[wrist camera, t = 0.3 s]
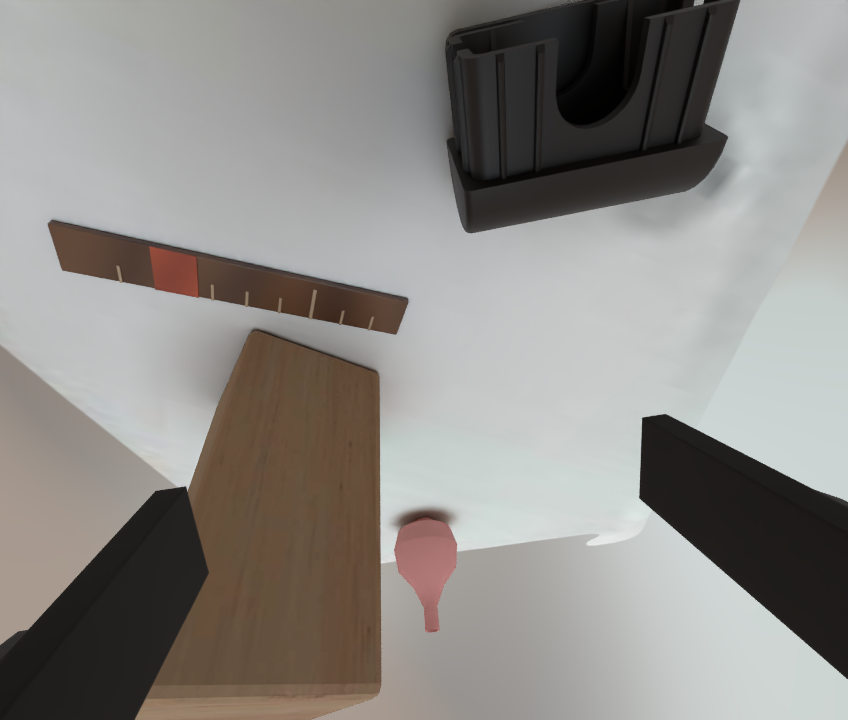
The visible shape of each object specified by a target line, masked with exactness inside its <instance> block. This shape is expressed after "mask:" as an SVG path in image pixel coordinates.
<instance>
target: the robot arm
mask: <svg viewBox="0 0 848 720" xmlns="http://www.w3.org/2000/svg"><path fill="white" fill-rule="evenodd" d="M639 498H640V499H641V500H642V501H643V502H644V503H645V504H646V505H648V506H649V507H650V508H651V509H652V510H653V511H655V512H656V513H657V514H658V515H659V516H660V517H661V518H663V519H664V520H665V521H666V522H667V523H668V524H670V525H671V526H672V527H673V528H674V529H675V530H676V531H678V532H679V533H680V534H681V535H682V536H683V537H685V538H686V539H687V540H688V541H689V542H690V543H691V544H693V545H694V546H695V547H696V548H697V549H698V550H700V551H701V552H702V553H703V554H704V555H705V556H706V557H708V558H709V559H710V560H711V561H712V562H713V563H714V564H716V565H717V566H718V567H719V568H720V569H722V571H724V572H725V573H726V574H727V575H728V576H729V577H731V578H732V579H733V580H734V581H735V582H736V583H737V584H739V585H740V586H741V587H742V588H743V589H744V590H746V591H747V592H748V593H749V594H750V595H751V596H752V597H754V598H755V599H756V600H757V601H758V602H760V603H761V604H762V605H763V606H764V607H765V608H766V609H767V610H769V611H770V612H771V613H772V614H773V615H774V616H776V617H777V618H778V619H779V620H780V621H781V622H782V623H784V624H785V625H786V626H787V627H788V628H789V629H790V630H792V631H793V632H794V633H795V634H796V635H797V636H799V637H800V638H801V639H802V640H803V641H804V642H805V643H807V644H808V645H809V646H810V647H811V648H812V649H813V650H815V651H816V652H817V653H818V654H819V655H820V656H822V657H823V658H824V659H825V660H826V661H827V662H828V663H830V664H831V665H832V666H833V667H834V668H835V669H837V670H838V671H839V672H840V673H841V674H842V675H843V676H845V677H846V678H847V679H848V502H847V501H845V500H843V499H840V498H837V497H834V496H831V495H828V494H825V493H822V492H819V491H816V490H814V489H811V488H810V487H808V486H805V485H804V484H802V483H800V482H798V481H796V480H794V479H792V478H790V477H788V476H786V475H784V474H782V473H780V472H778V471H776V470H774V469H772V468H770V467H768V466H766V465H765V464H763V463H761V462H759V461H757V460H755V459H753V458H751V457H749V456H747V455H745V454H743V453H741V452H739V451H737V450H735V449H733V448H731V447H729V446H727V445H725V444H723V443H721V442H719V441H717V440H716V439H714V438H712V437H710V436H708V435H706V434H704V433H702V432H700V431H698V430H696V429H694V428H692V427H690V426H688V425H686V424H684V423H682V422H680V421H678V420H676V419H674V418H672V417H670V416H669V415H667V414H663V415H657V416H650V417H643V418H642V441H641V468H640V495H639ZM208 574H209V571H208V567H207V563H206V560H205V556H204V552H203V548H202V545H201V541H200V537H199V533H198V530H197V526H196V522H195V518H194V515H193V511H192V507H191V503H190V500H189V496H188V492H187V488H186V487H179V488H173V489H166V490H160V491H155V493H154V494H153V495H152V496H151V497H150V498H149V499H148V500H147V501H146V502H145V503H144V504H143V505H142V507H141V508H140V509H139V510H138V511H137V512H136V513H135V514H134V515H133V516H132V517H131V519H130V520H129V521H128V522H127V523H126V524H125V525H124V526H123V527H122V528H121V530H119V532H118V533H117V534H116V535H115V536H114V537H113V538H112V539H111V540H110V542H109V543H108V544H107V545H106V546H105V547H104V548H103V549H102V550H101V551H100V552H99V553H98V554H97V556H96V557H95V558H94V559H93V560H92V561H91V562H90V563H89V564H88V565H87V566H86V567H85V569H84V570H83V571H82V572H81V573H80V574H79V575H78V576H77V577H76V578H75V579H74V581H73V582H72V583H71V584H70V585H69V586H68V587H67V588H66V589H65V590H64V592H63V593H62V594H61V595H60V596H59V597H58V598H57V599H56V600H55V601H54V602H53V603H52V605H51V606H50V607H49V608H48V609H47V610H46V611H45V612H44V613H43V614H42V616H41V617H40V618H39V619H38V620H37V621H36V622H35V623H34V624H33V625H32V627H30V629H29V630H25V631H19V632H17V633H16V634H14V635H13V636H12V637H10V638H9V639H8V640H6V641H5V642H4V643H3V644H1V645H0V720H135V718H136V716H137V714H138V712H139V711H140V709H141V707H142V705H143V703H144V701H145V699H146V697H147V695H148V693H149V691H150V689H151V687H152V685H153V683H154V681H155V679H156V677H157V675H158V673H159V671H160V669H161V667H162V665H163V663H164V661H165V659H166V657H167V655H168V653H169V651H170V649H171V647H172V645H173V643H174V641H175V639H176V637H177V635H178V633H179V631H180V629H181V627H182V625H183V623H184V622H185V620H186V618H187V616H188V614H189V612H190V610H191V608H192V606H193V604H194V602H195V600H196V598H197V596H198V594H199V592H200V590H201V588H202V586H203V584H204V582H205V580H206V578H207V576H208Z"/></svg>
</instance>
